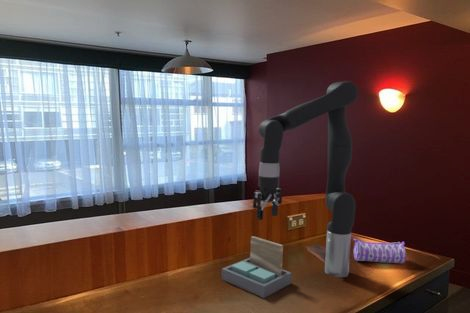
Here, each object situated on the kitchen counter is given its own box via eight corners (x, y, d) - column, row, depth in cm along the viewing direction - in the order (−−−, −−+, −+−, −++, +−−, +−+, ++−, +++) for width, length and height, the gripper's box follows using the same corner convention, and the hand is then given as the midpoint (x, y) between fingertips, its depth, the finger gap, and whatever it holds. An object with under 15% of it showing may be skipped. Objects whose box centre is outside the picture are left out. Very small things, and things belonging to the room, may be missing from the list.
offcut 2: (259, 281, 138) (259, 267, 138) (274, 287, 134) (275, 273, 133) (248, 286, 134) (249, 272, 133) (264, 292, 129) (264, 278, 129)
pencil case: (399, 258, 168) (401, 237, 167) (409, 266, 159) (410, 245, 158) (350, 256, 168) (351, 236, 167) (356, 265, 159) (358, 243, 158)
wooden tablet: (302, 244, 180) (321, 240, 183) (302, 248, 181) (321, 245, 183) (329, 266, 155) (351, 261, 157) (329, 271, 155) (351, 266, 158)
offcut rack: (249, 269, 151) (250, 257, 150) (291, 286, 137) (291, 272, 137) (221, 282, 139) (221, 268, 139) (263, 301, 126) (264, 286, 125)
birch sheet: (252, 270, 147) (253, 236, 146) (281, 282, 138) (282, 245, 136) (249, 271, 146) (250, 236, 145) (278, 283, 137) (280, 246, 135)
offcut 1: (242, 273, 144) (242, 261, 144) (256, 279, 139) (256, 266, 139) (231, 278, 140) (231, 265, 139) (245, 284, 135) (245, 271, 134)
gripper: (264, 178, 130) (263, 223, 132) (288, 174, 140) (286, 216, 142) (248, 175, 135) (247, 219, 137) (272, 171, 145) (271, 212, 147)
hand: (267, 217), depth 139 cm, fingers open, 8 cm apart
